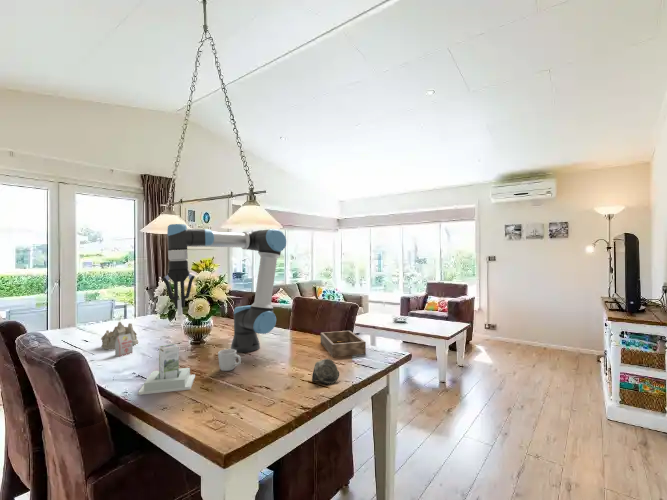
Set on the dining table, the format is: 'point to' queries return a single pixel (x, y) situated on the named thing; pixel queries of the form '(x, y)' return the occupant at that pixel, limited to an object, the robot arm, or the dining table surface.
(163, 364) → the syrup box
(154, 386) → the white tray
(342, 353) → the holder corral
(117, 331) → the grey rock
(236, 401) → the dining table surface
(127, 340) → the tea bag
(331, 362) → the fossil
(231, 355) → the cup
